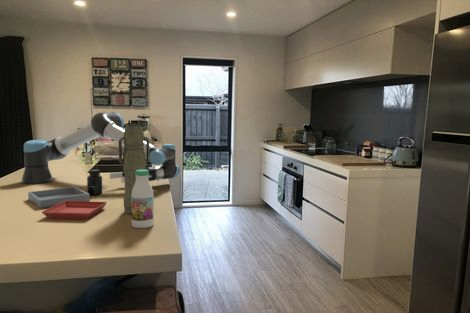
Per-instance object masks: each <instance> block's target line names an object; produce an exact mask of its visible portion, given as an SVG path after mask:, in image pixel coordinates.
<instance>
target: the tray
mask: <svg viewBox="0 0 470 313" xmlns="http://www.w3.org/2000/svg"><path fill="white" fill-rule="evenodd" d="M27 194H28V195H27V197H28V201H30V202H31V203H32V204H33V203H34V204H33V205H35V206H36V207H37V206H38V207H37V208H38V209H40V210H41V208H43V209H49V208H48V207H50V208H51V207H53V206H55V205H58V204H60V203H62V202H64V201H90V197H91V196H89V193H87V192H86V191H85V190H82V189H80V188H78V187H76V186H68V187H60V188H52V189H44V190H43V189H42V190H36V191H35V190H34V191H29V192H28V193H27ZM90 202H91V201H90Z"/></svg>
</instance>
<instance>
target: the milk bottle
mask: <svg viewBox="0 0 470 313" xmlns="http://www.w3.org/2000/svg"><path fill="white" fill-rule="evenodd" d="M135 175H136V182H135V185H134V187H133V189H132V194H131V213H132V215H131V225H132V228H135V229H146V228H151V227H154V224H155V200H154V199H155V197H154V190H153V187H152V185H151V183H150V181H149V179H148V176H149V170H145V169H141V170H136V171H135Z"/></svg>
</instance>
